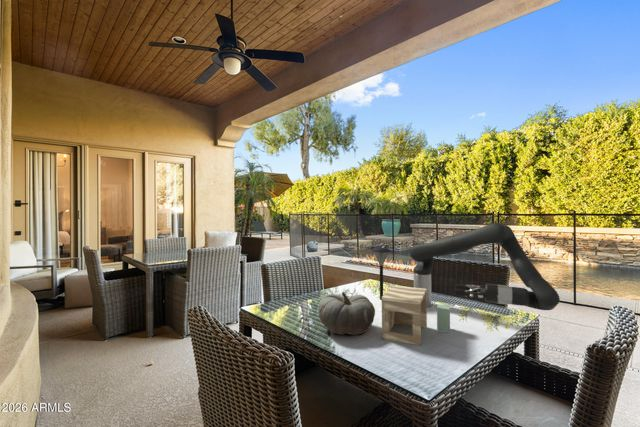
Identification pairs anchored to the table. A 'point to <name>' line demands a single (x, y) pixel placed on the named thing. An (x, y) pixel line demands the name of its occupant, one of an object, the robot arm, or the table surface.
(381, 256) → the solar garden light
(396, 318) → the box
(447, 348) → the table surface
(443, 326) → the block
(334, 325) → the gourd
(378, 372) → the table surface
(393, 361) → the table surface
